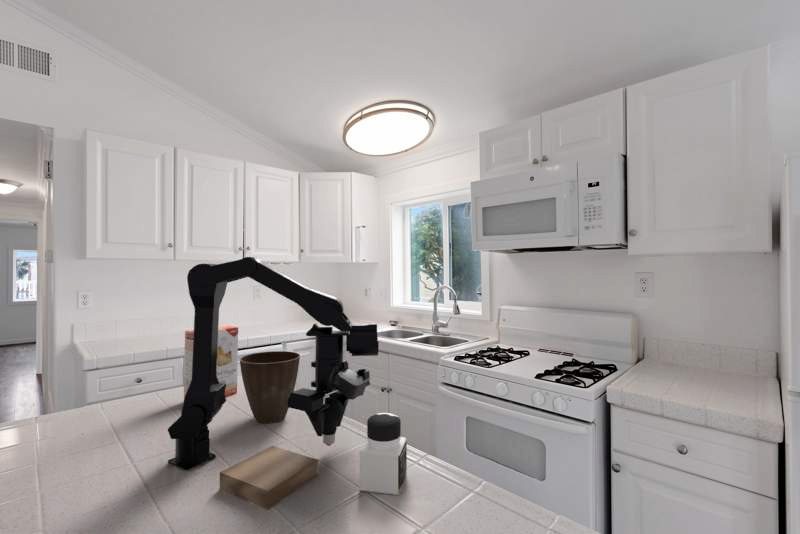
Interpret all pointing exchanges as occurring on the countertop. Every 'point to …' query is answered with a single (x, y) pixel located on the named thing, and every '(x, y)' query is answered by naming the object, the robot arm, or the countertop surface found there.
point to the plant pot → (269, 383)
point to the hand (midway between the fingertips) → (328, 431)
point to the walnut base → (268, 476)
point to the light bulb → (331, 419)
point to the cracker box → (225, 358)
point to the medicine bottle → (383, 455)
